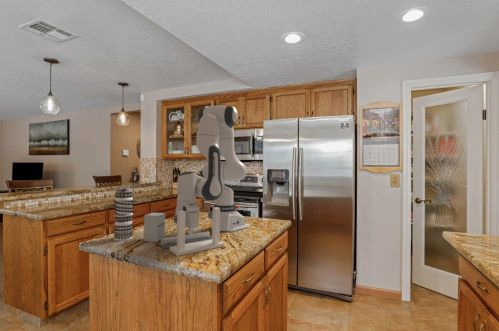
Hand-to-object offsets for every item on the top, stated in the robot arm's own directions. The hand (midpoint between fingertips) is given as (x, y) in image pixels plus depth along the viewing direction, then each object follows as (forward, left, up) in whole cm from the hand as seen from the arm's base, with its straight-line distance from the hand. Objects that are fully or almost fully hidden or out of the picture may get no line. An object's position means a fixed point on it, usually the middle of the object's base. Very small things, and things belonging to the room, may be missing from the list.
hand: (185, 233), depth 127 cm
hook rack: (0, +12, -4) cm, 13 cm away
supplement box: (+11, -12, -4) cm, 17 cm away
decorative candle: (+23, -22, -4) cm, 32 cm away
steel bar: (0, +1, -3) cm, 3 cm away
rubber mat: (0, +1, -4) cm, 4 cm away
